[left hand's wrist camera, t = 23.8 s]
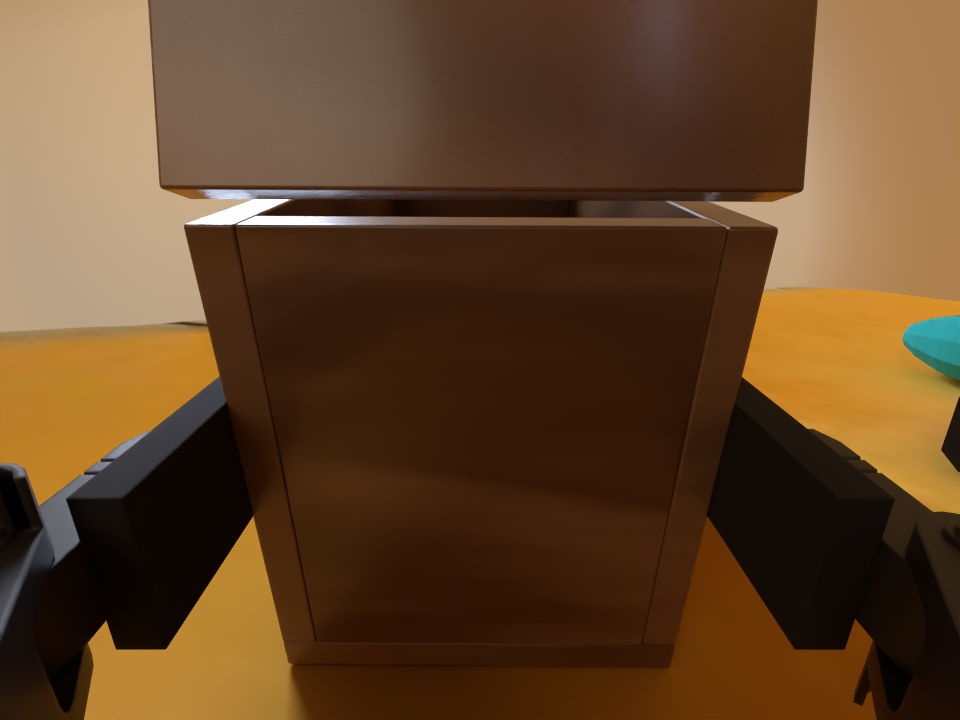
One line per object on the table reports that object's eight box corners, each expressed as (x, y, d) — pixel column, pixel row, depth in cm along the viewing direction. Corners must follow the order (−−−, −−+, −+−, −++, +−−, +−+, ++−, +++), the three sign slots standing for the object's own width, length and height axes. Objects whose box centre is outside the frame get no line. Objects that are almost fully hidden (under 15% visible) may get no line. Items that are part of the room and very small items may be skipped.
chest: (394, 368, 28) (378, 155, 23) (569, 369, 28) (588, 156, 23) (288, 664, 13) (181, 223, 8) (670, 668, 13) (781, 227, 8)
